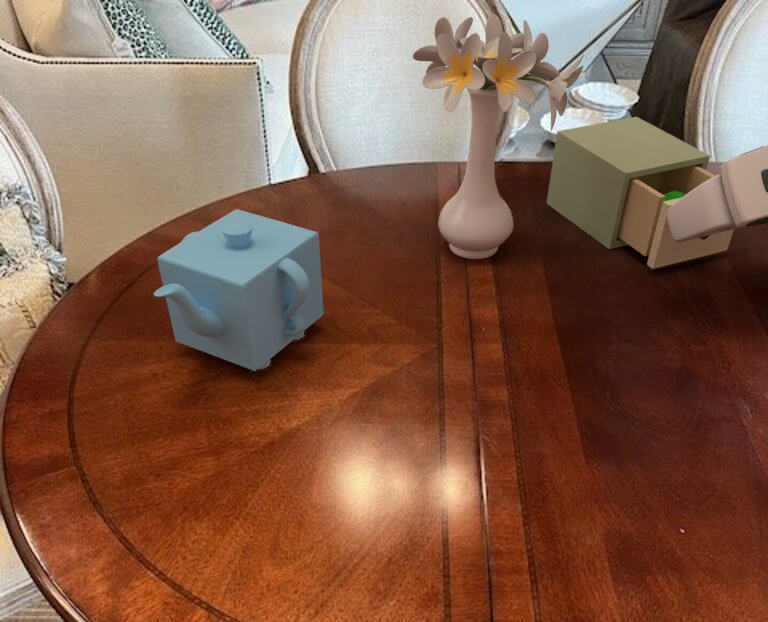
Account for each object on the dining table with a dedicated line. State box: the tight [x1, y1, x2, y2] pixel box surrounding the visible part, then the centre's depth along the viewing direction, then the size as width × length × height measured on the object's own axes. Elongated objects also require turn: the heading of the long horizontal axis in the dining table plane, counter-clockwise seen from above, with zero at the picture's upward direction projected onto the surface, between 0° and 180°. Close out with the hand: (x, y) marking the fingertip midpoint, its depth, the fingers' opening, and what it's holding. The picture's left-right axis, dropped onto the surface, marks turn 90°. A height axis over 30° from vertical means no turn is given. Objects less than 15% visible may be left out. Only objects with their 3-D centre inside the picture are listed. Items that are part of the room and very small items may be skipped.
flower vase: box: [412, 13, 585, 260], centre depth 90 cm, size 13×18×25 cm
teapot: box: [153, 208, 325, 372], centre depth 78 cm, size 18×16×13 cm
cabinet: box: [546, 116, 711, 250], centre depth 102 cm, size 15×13×10 cm
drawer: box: [617, 165, 735, 270], centre depth 96 cm, size 15×11×8 cm
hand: (708, 228), depth 91 cm, fingers closed, pressing on drawer
